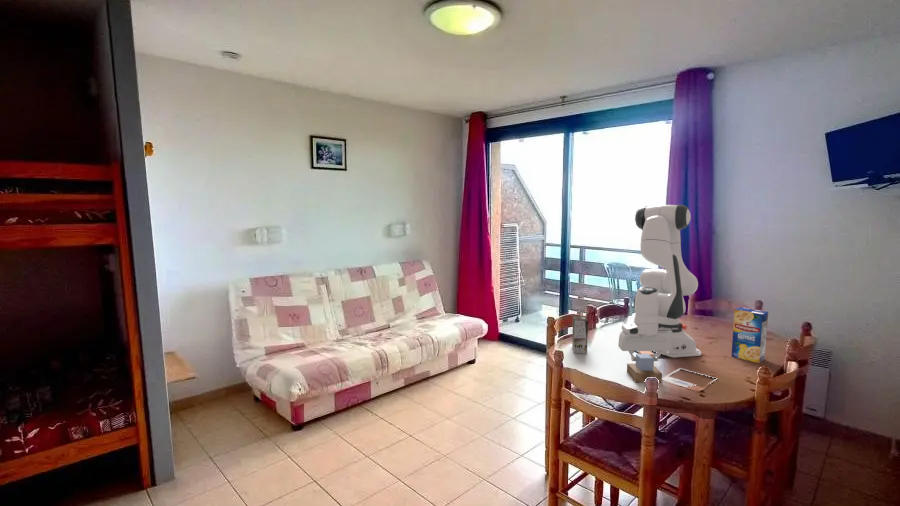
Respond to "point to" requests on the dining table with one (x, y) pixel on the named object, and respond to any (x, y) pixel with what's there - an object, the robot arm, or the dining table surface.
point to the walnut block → (642, 373)
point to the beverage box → (749, 334)
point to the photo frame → (680, 382)
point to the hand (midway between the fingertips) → (644, 360)
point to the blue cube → (644, 362)
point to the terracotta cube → (646, 353)
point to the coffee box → (580, 334)
